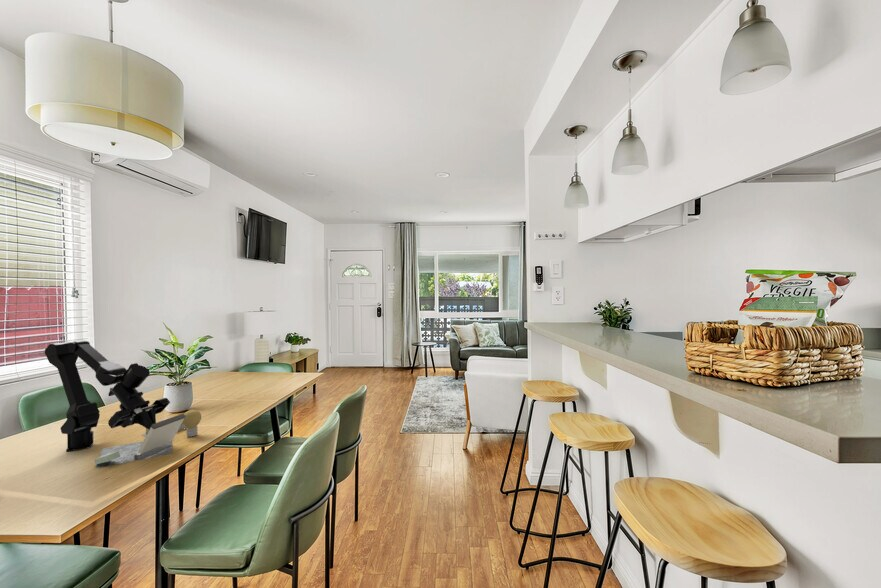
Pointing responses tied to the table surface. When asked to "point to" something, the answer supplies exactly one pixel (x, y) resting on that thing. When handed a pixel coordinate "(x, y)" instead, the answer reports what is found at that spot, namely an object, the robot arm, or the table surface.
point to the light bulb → (192, 422)
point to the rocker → (107, 457)
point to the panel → (133, 453)
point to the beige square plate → (161, 433)
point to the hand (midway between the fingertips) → (154, 430)
